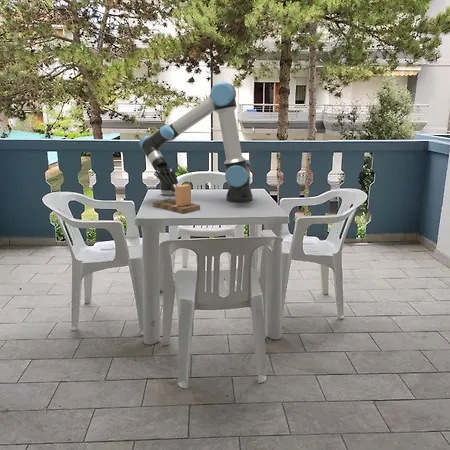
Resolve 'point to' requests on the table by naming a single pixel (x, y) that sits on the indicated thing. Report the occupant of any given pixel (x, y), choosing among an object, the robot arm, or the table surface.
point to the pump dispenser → (165, 190)
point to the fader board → (175, 206)
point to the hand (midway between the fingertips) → (179, 195)
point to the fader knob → (183, 195)
